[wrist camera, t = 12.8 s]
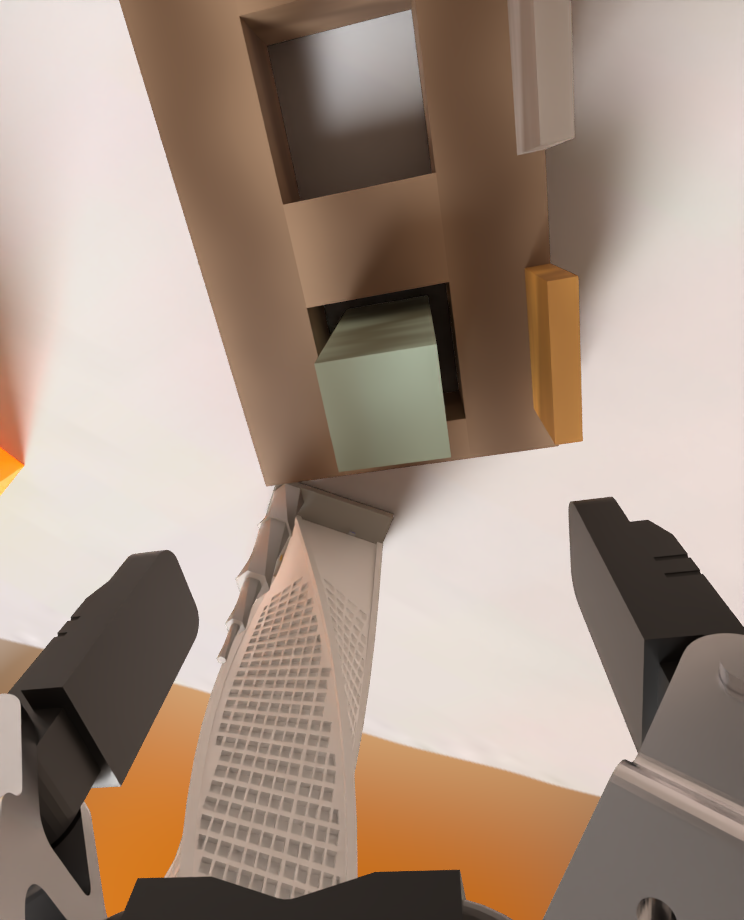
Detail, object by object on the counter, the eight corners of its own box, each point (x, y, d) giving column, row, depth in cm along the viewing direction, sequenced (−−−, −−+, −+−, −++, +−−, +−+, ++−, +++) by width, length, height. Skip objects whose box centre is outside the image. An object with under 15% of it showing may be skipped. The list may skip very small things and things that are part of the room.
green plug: (427, 295, 26) (436, 344, 17) (438, 374, 28) (450, 457, 19) (346, 309, 27) (314, 363, 18) (361, 386, 28) (338, 472, 19)
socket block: (510, -85, 20) (565, -245, 13) (540, 414, 28) (583, 487, 21) (160, 10, 22) (37, -83, 15) (283, 452, 30) (243, 530, 23)
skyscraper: (416, 521, 32) (437, 1769, 6) (371, 621, 35) (270, 1687, 10) (278, 475, 31) (-303, 1678, 6) (246, 582, 34) (-206, 1623, 9)
